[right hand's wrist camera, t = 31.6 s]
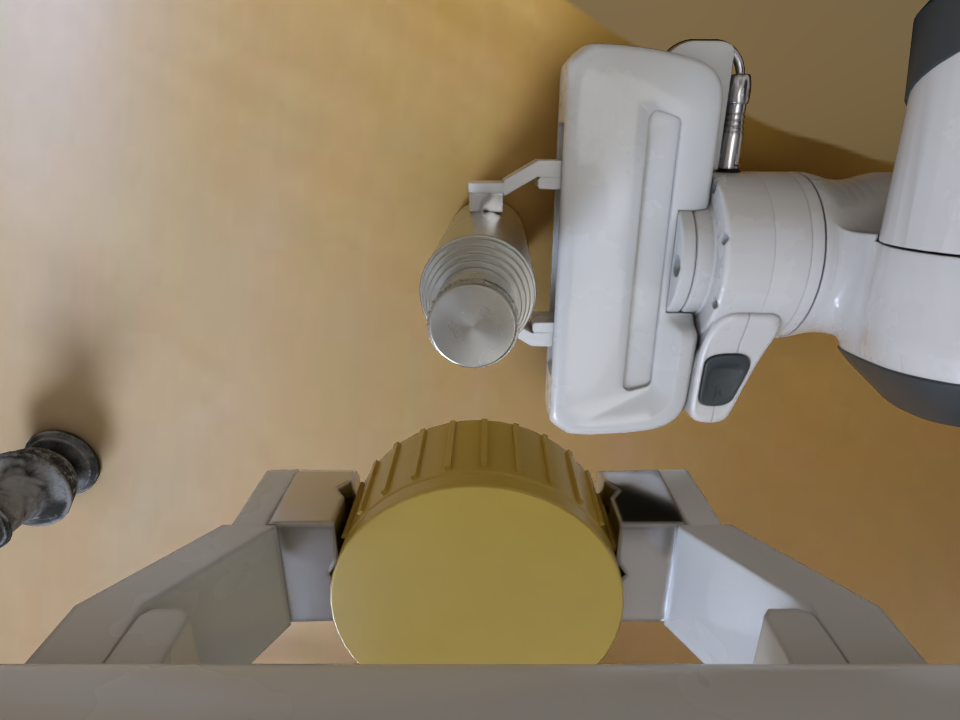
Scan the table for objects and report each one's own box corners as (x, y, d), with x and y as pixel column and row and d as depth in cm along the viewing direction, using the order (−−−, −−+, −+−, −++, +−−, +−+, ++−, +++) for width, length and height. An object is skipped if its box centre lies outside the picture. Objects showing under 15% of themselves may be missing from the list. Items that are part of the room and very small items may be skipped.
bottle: (508, 286, 38) (511, 410, 21) (438, 259, 37) (383, 364, 20) (536, 215, 36) (566, 287, 19) (464, 186, 36) (428, 234, 19)
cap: (560, 379, 9) (577, 440, 7) (633, 585, 11) (662, 675, 9) (310, 462, 10) (271, 536, 8) (413, 646, 11) (399, 741, 10)
